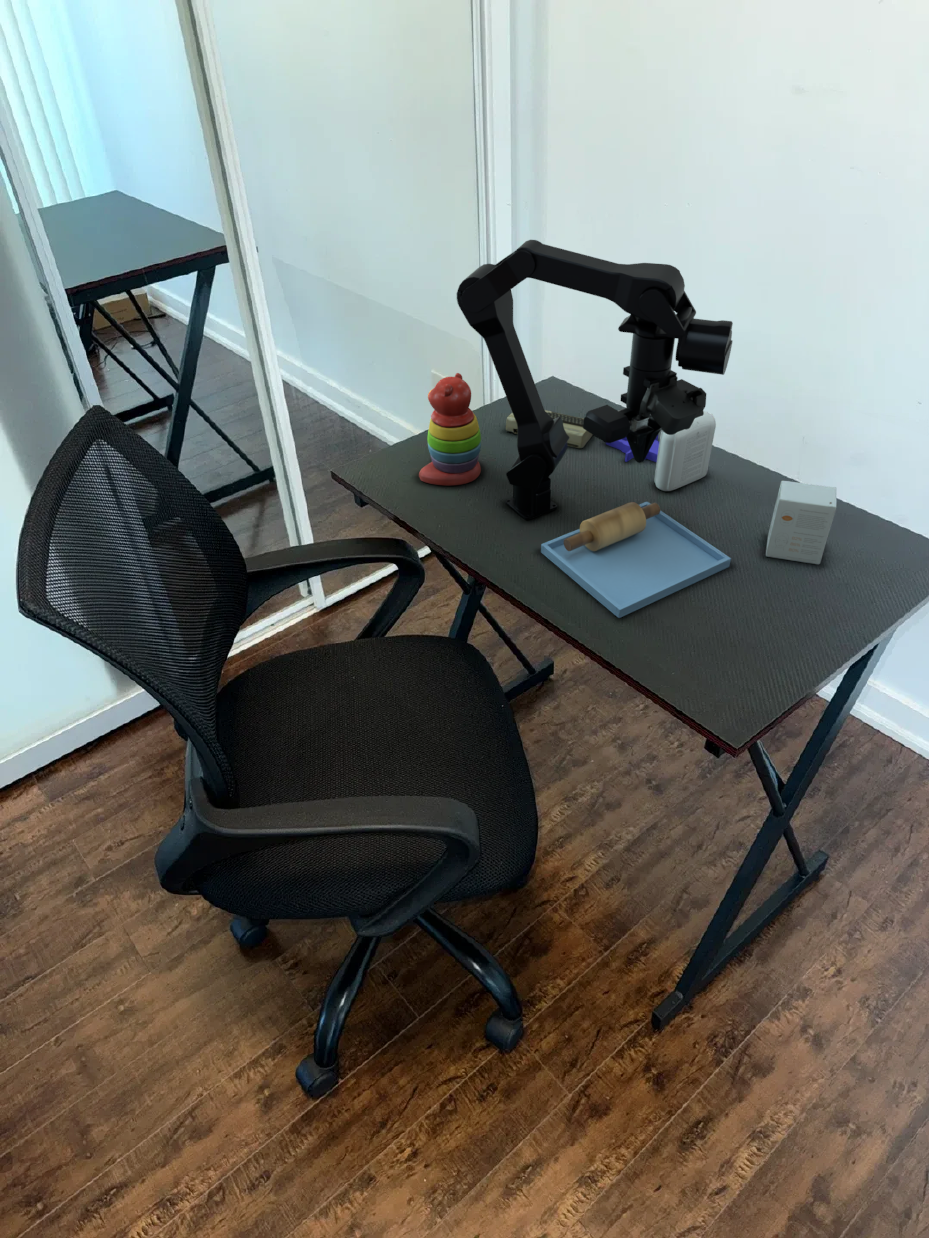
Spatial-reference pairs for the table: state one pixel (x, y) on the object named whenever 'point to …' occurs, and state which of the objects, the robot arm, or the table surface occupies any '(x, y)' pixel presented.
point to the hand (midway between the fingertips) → (639, 461)
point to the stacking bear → (452, 435)
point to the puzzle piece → (626, 449)
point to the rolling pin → (612, 526)
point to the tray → (639, 564)
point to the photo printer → (685, 454)
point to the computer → (571, 427)
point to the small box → (801, 522)
